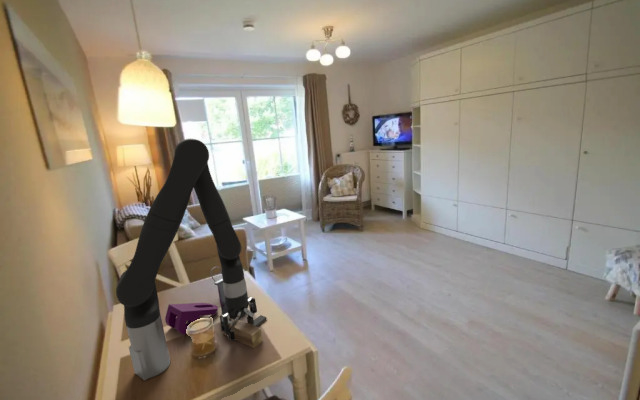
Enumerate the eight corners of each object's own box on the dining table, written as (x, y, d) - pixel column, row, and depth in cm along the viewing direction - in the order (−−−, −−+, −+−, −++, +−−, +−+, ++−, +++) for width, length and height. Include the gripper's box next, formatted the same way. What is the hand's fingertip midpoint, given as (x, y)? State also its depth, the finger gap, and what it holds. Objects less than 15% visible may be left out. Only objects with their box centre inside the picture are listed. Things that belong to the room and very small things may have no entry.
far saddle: (255, 328, 114) (255, 325, 113) (249, 325, 115) (249, 323, 115) (266, 319, 118) (266, 317, 118) (261, 317, 120) (260, 315, 120)
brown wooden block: (254, 348, 103) (252, 335, 102) (222, 333, 112) (220, 321, 111) (262, 341, 106) (260, 328, 105) (231, 327, 115) (229, 315, 114)
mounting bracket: (204, 322, 129) (162, 327, 115) (209, 302, 131) (168, 304, 116) (218, 330, 124) (175, 335, 110) (222, 308, 125) (181, 311, 111)
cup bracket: (230, 321, 119) (225, 286, 116) (219, 316, 123) (214, 282, 119) (247, 309, 126) (243, 276, 123) (237, 305, 130) (232, 272, 126)
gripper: (226, 304, 97) (233, 348, 101) (258, 284, 109) (263, 324, 112) (211, 298, 101) (218, 341, 105) (243, 279, 113) (249, 318, 116)
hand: (241, 332), depth 109 cm, fingers open, 8 cm apart
